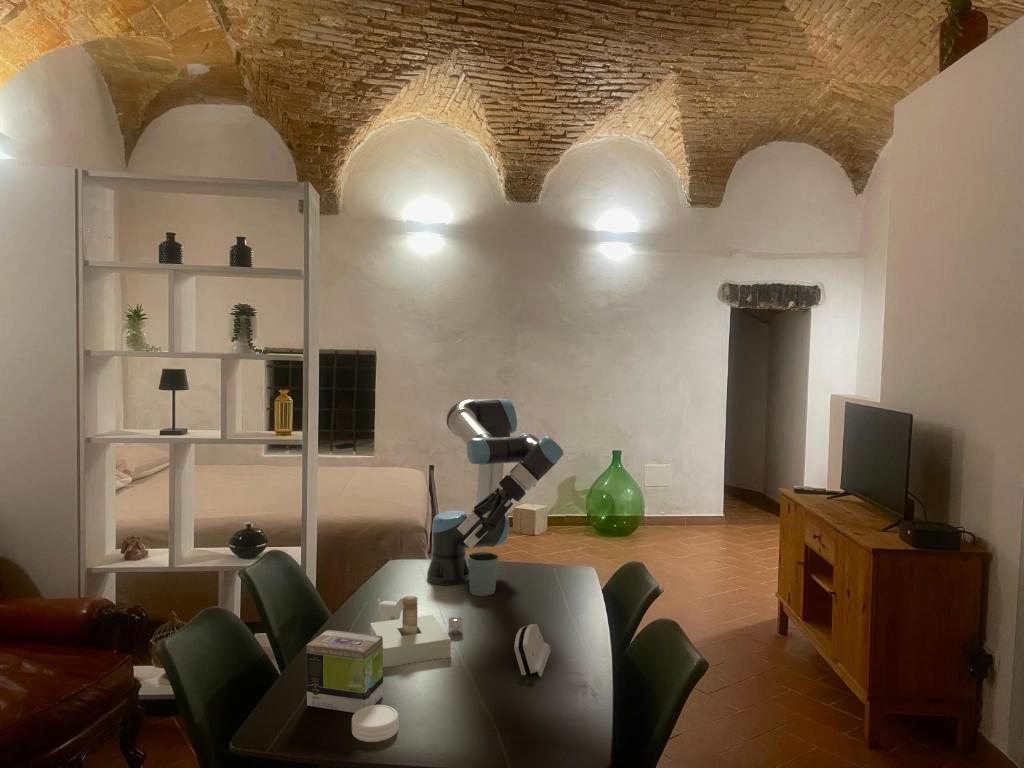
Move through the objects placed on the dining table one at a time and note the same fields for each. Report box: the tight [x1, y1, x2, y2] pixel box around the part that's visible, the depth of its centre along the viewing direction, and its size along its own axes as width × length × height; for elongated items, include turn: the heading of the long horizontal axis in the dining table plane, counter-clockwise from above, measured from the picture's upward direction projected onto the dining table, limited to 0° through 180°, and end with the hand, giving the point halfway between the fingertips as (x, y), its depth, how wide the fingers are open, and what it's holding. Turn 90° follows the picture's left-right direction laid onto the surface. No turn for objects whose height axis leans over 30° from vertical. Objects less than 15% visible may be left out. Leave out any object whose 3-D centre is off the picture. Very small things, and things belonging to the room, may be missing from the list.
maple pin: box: [401, 595, 418, 636], centre depth 201 cm, size 4×4×14 cm
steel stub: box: [447, 616, 463, 637], centre depth 213 cm, size 4×4×4 cm
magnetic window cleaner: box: [513, 623, 552, 677], centre depth 194 cm, size 17×5×10 cm, turn 168°
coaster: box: [351, 704, 400, 743], centre depth 160 cm, size 10×10×4 cm
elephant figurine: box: [376, 595, 403, 622], centre depth 220 cm, size 8×10×7 cm
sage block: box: [369, 614, 452, 668], centre depth 201 cm, size 18×18×5 cm
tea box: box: [305, 629, 384, 714], centre depth 172 cm, size 15×10×15 cm
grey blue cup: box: [467, 551, 499, 597], centre depth 247 cm, size 10×10×12 cm
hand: (463, 538), depth 204 cm, fingers open, 13 cm apart
